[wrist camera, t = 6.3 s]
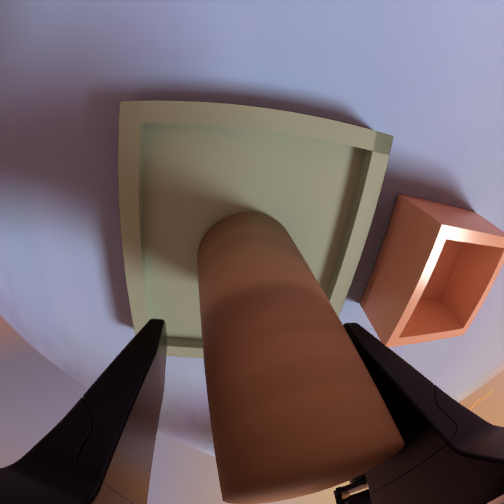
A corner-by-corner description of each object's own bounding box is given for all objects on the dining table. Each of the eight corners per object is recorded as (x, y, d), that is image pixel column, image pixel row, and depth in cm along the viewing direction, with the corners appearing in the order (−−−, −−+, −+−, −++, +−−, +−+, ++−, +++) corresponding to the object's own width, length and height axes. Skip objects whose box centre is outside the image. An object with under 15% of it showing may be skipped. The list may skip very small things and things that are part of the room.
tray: (314, 337, 17) (321, 357, 15) (143, 332, 15) (139, 352, 14) (374, 130, 11) (393, 136, 9) (133, 100, 9) (120, 101, 8)
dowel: (282, 293, 13) (357, 479, 6) (196, 294, 13) (219, 508, 5) (301, 215, 11) (439, 419, 4) (199, 210, 11) (228, 479, 3)
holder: (437, 301, 17) (463, 334, 14) (359, 303, 16) (384, 347, 13) (475, 212, 13) (513, 239, 10) (398, 193, 12) (441, 224, 9)
